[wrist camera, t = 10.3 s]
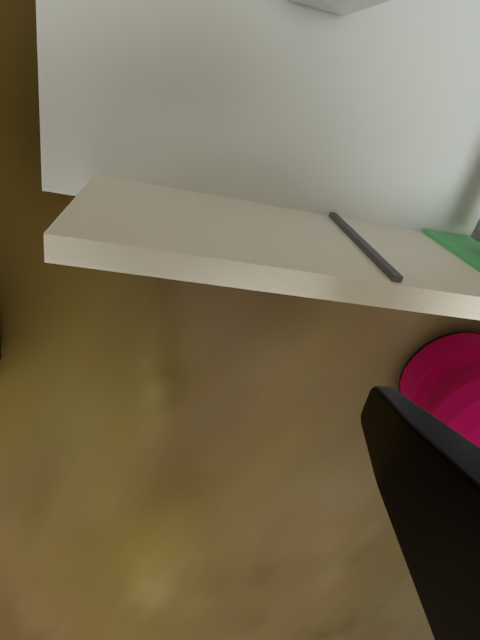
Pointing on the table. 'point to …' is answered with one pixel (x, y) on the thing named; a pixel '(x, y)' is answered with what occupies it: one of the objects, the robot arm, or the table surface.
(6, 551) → the table surface
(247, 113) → the gauge base
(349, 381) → the table surface
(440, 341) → the pepper mill
